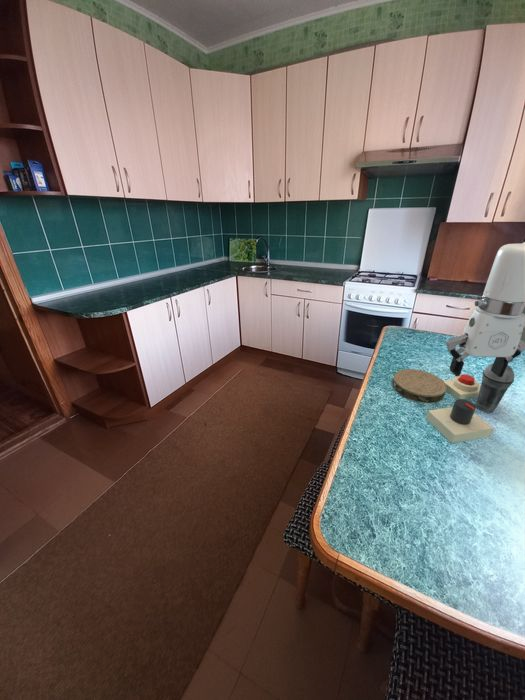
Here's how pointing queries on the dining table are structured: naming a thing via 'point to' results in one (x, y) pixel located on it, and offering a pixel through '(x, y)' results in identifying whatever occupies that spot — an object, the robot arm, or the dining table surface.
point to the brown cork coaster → (419, 385)
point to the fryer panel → (458, 426)
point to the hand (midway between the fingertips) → (475, 373)
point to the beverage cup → (493, 388)
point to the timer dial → (462, 411)
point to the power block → (462, 389)
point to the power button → (466, 379)
